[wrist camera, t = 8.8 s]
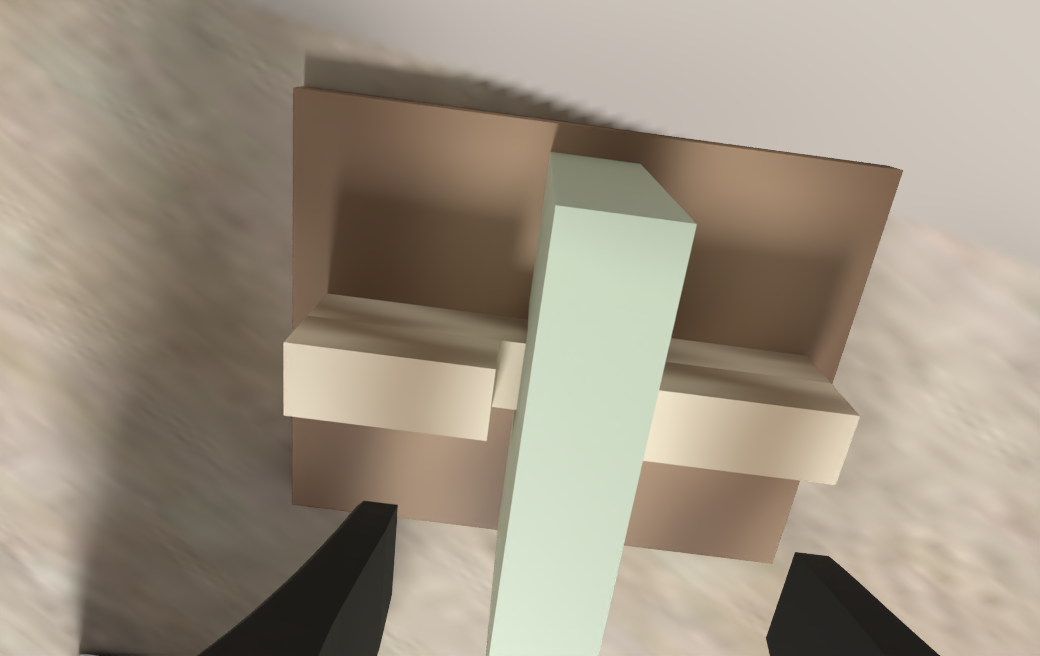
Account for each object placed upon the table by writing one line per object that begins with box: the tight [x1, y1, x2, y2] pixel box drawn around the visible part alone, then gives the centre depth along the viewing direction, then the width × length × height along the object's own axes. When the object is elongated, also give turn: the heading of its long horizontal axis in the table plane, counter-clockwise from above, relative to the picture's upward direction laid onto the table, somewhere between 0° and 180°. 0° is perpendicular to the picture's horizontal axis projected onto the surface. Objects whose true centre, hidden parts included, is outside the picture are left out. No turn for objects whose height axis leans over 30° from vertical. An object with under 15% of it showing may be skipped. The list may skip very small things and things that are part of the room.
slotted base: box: [283, 87, 903, 564], centre depth 19 cm, size 16×13×4 cm
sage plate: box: [486, 152, 697, 656], centre depth 17 cm, size 12×2×7 cm, turn 173°
